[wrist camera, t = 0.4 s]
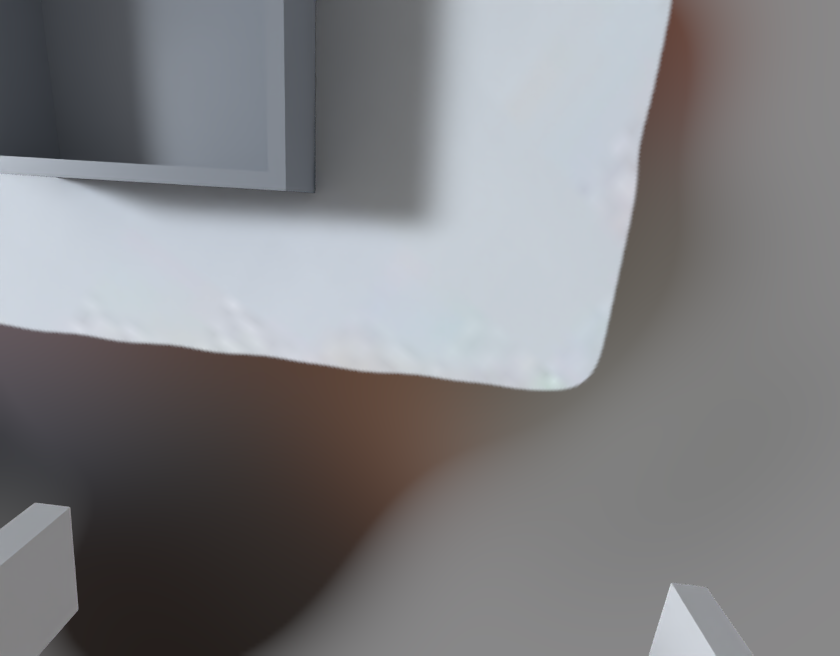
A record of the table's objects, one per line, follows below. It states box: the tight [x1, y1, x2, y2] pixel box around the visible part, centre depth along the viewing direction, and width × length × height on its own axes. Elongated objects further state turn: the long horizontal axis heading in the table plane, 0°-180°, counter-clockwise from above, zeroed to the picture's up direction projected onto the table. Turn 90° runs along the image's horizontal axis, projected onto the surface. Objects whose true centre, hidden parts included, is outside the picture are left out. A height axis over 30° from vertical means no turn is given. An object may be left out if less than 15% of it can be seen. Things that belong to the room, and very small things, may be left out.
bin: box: [0, 0, 316, 193], centre depth 29 cm, size 19×19×7 cm
